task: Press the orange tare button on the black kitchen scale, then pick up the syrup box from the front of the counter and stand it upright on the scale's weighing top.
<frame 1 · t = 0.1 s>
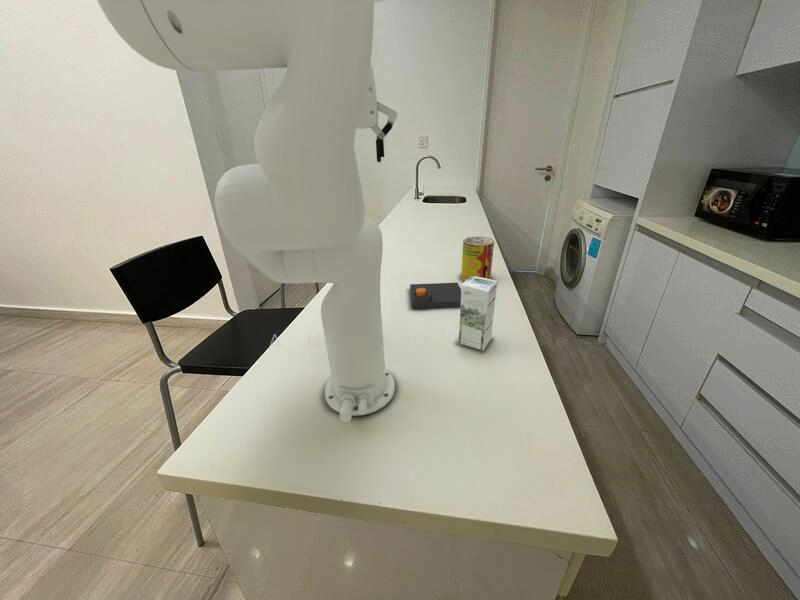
hand: (354, 162, 65), 37 cm above the table, tool pointing down, fingers open, 9 cm apart
syrup box: (474, 342, 73), on the table
yellow red tin can: (475, 278, 104), on the table
tare button: (421, 292, 87), point 4 cm above the table, slide at 0.1 cm
scale: (436, 298, 92), on the table
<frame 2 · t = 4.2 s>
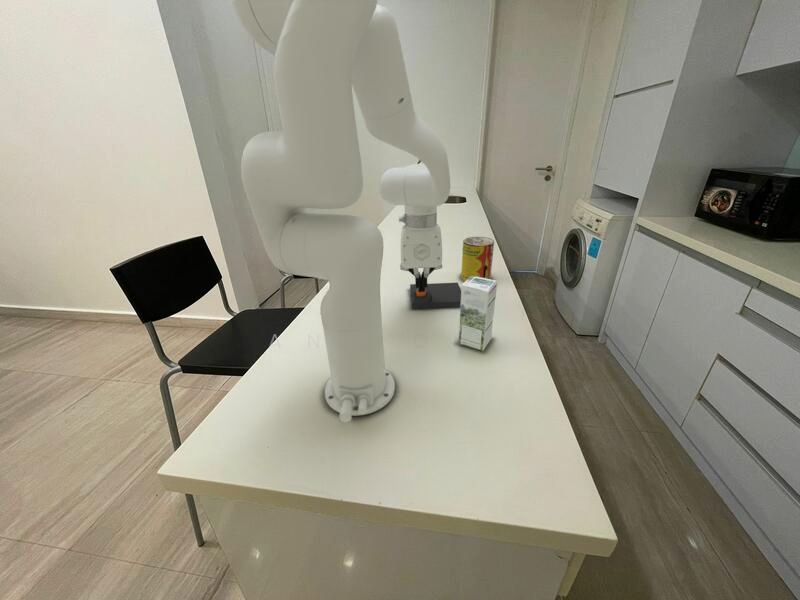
hand: (421, 289, 87), 5 cm above the table, tool pointing down, fingers closed
tare button: (421, 292, 87), point 4 cm above the table, slide at 0.0 cm, touching gripper
everything else where it was.
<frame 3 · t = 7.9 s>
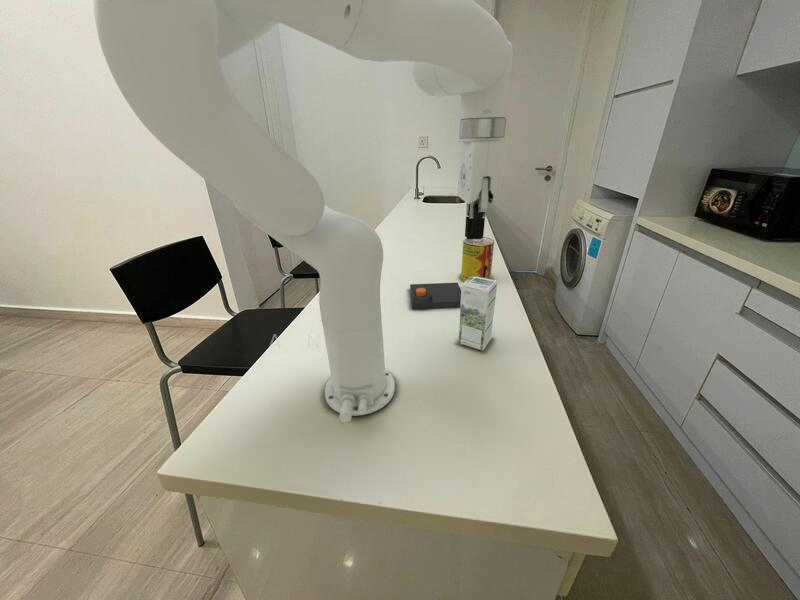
hand: (473, 237, 64), 23 cm above the table, tool pointing down, fingers closed
tare button: (421, 292, 87), point 4 cm above the table, slide at 0.1 cm
everything else where it was.
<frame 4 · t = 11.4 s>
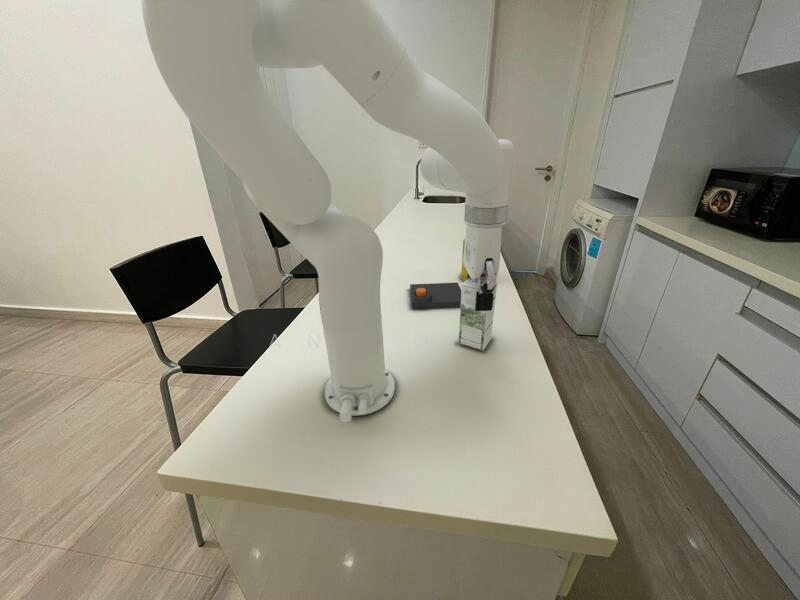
hand: (478, 299, 68), 10 cm above the table, tool pointing down, fingers closed on syrup box, 7 cm apart
syrup box: (474, 342, 73), on the table, touching gripper
everything else where it was.
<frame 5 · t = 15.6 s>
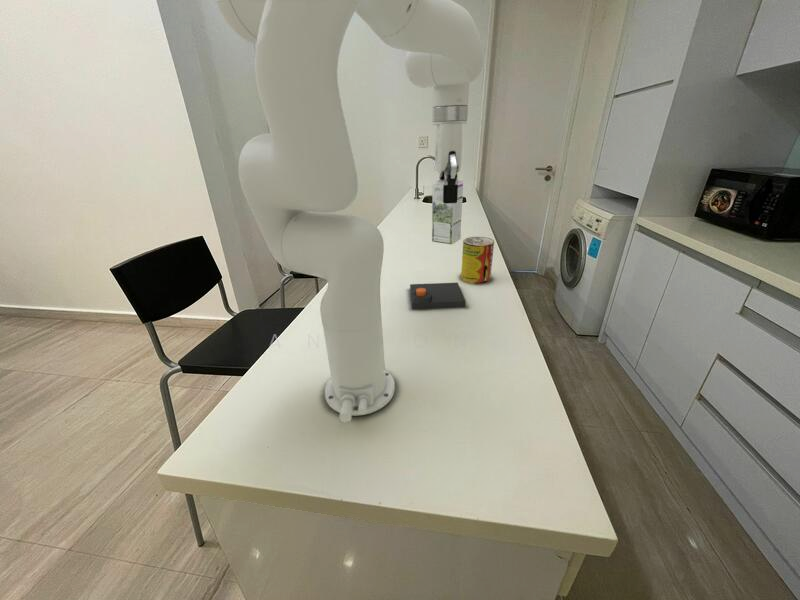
hand: (447, 199, 80), 27 cm above the table, tool pointing down, fingers closed on syrup box, 7 cm apart
syrup box: (446, 241, 85), point 16 cm above the table, touching gripper
everything else where it was.
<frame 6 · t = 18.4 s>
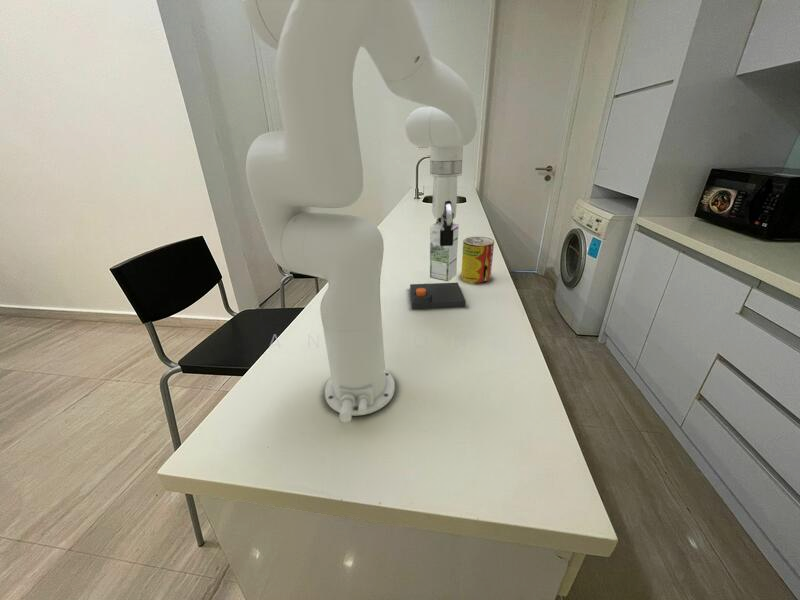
hand: (444, 240, 86), 16 cm above the table, tool pointing down, fingers closed on syrup box, 7 cm apart
syrup box: (443, 277, 91), point 6 cm above the table, touching gripper
everything else where it was.
when the fingers open (12 cm above the table, at t = 20.3 s): syrup box stays where it is, resting on scale.
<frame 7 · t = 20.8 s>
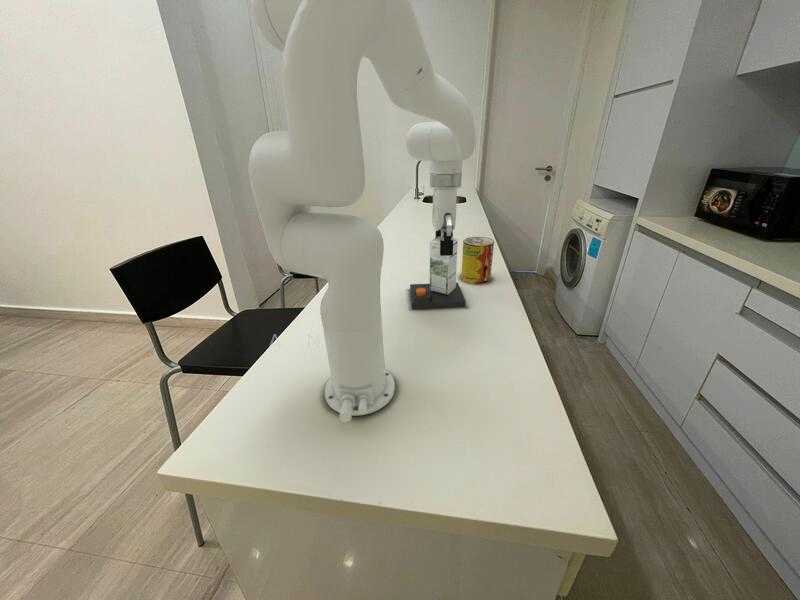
hand: (443, 249, 87), 14 cm above the table, tool pointing down, fingers open, 9 cm apart
syrup box: (442, 290, 93), point 2 cm above the table, touching scale
everything else where it was.
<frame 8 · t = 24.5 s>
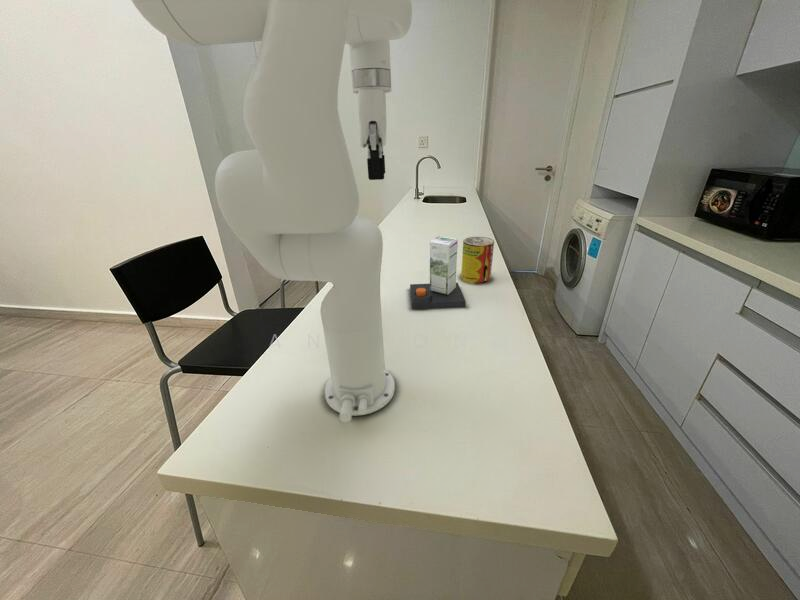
hand: (377, 176, 72), 33 cm above the table, tool pointing down, fingers open, 9 cm apart
nothing on the table moved.
at the end: tare button pushed in 0.9 cm at the most during the clip, back to where it started at the end; syrup box inside the target area on the scale (1.3 cm from its centre), point 1.7 cm above the scale's base; syrup box tilted 0° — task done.
